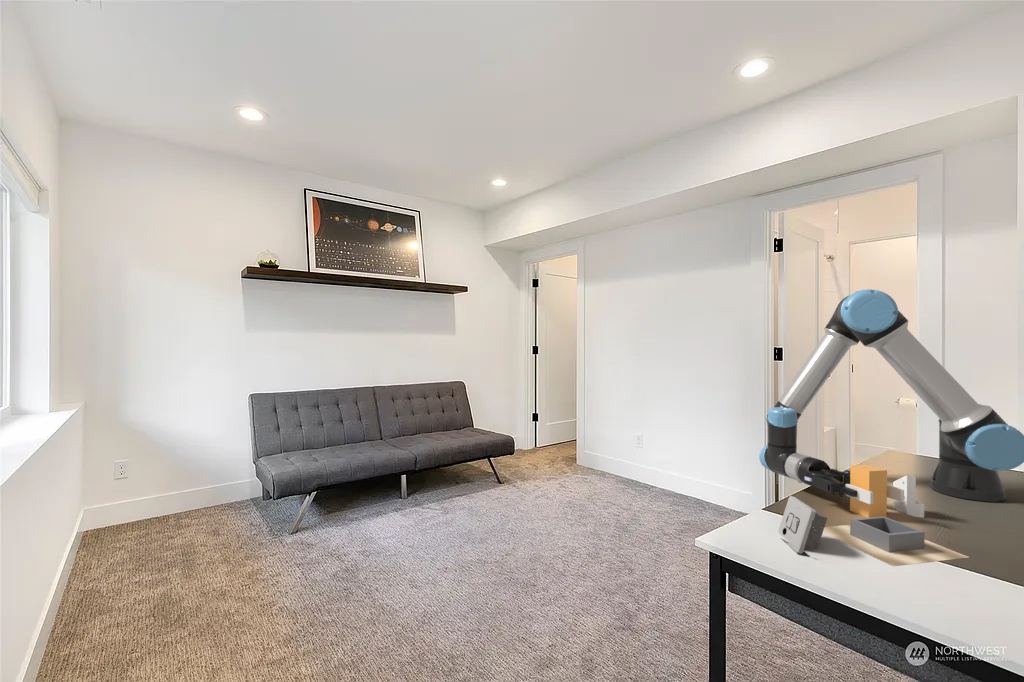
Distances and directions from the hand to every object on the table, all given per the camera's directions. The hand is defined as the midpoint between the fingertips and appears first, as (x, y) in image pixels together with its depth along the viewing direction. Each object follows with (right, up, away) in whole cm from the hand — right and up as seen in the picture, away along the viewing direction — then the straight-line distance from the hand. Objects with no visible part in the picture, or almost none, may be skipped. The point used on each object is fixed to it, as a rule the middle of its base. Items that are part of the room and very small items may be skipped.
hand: (887, 497), depth 111 cm
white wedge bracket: (+12, -7, +8) cm, 16 cm away
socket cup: (-9, -6, -11) cm, 15 cm away
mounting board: (-9, -7, -11) cm, 16 cm away
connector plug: (-1, -6, +5) cm, 8 cm away
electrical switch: (-26, -7, -11) cm, 29 cm away
